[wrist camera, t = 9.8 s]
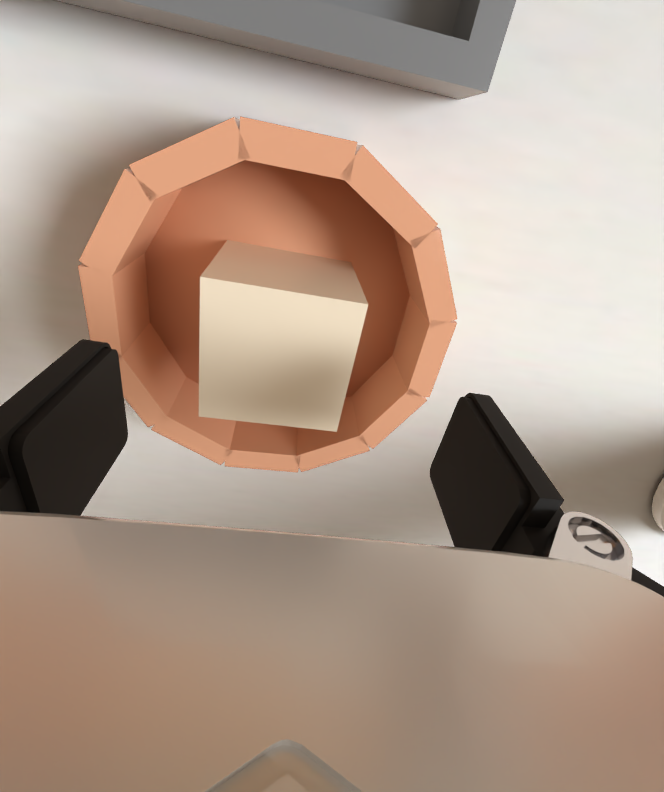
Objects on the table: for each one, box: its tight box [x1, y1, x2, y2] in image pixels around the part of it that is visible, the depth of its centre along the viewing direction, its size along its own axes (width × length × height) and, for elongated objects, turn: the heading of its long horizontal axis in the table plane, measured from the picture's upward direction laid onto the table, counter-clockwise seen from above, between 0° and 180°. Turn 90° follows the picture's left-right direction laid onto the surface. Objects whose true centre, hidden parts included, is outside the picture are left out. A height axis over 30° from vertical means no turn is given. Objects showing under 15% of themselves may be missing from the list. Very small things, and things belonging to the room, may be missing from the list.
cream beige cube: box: [199, 240, 368, 432], centre depth 15 cm, size 5×5×5 cm
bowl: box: [78, 117, 457, 472], centre depth 16 cm, size 13×13×4 cm
